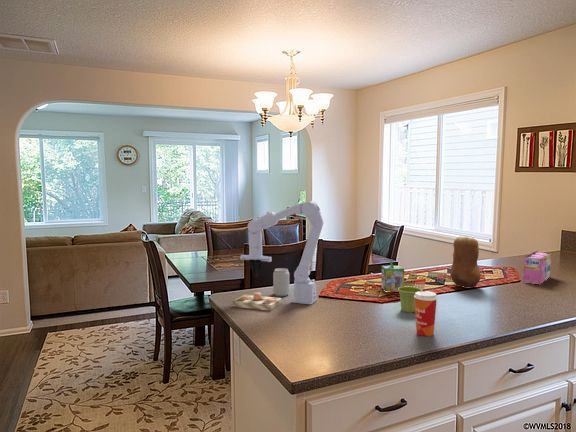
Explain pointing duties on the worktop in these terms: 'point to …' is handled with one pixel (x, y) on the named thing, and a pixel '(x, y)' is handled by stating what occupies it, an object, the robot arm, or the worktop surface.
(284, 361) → the worktop surface
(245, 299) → the button far
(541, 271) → the gum box
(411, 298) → the plant pot
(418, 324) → the paper cup
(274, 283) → the can
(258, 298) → the button mid
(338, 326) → the worktop surface
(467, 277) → the butternut squash
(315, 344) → the worktop surface
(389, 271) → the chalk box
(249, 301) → the button board
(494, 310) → the worktop surface
